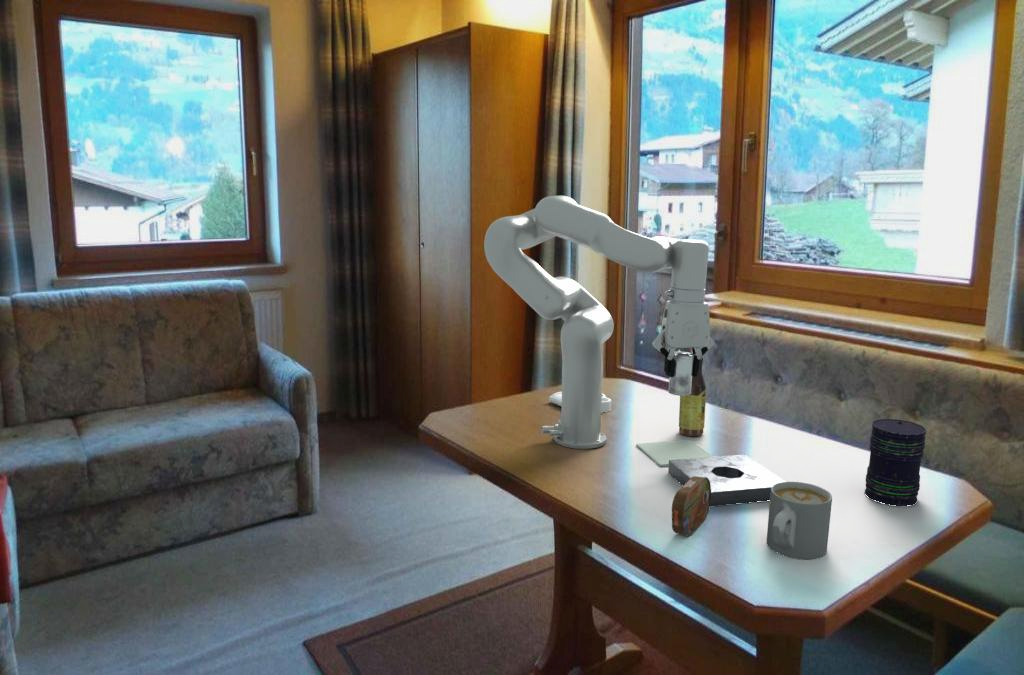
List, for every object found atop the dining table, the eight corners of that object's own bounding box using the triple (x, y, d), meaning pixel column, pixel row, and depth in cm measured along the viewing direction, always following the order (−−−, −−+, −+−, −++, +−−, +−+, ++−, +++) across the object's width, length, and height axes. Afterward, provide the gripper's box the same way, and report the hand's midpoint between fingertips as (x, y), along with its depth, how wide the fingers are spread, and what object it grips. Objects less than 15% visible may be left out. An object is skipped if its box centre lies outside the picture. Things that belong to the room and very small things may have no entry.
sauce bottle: (706, 437, 195) (711, 359, 191) (680, 437, 195) (685, 358, 191) (700, 429, 201) (705, 353, 197) (675, 428, 201) (680, 352, 197)
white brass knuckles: (542, 401, 225) (584, 395, 233) (579, 418, 210) (622, 410, 217) (542, 390, 224) (584, 384, 232) (579, 406, 209) (623, 399, 217)
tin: (684, 543, 139) (686, 498, 137) (666, 539, 140) (669, 494, 139) (711, 513, 151) (714, 472, 150) (695, 509, 153) (698, 468, 151)
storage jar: (916, 511, 154) (925, 437, 151) (861, 500, 158) (869, 429, 155) (918, 493, 162) (927, 423, 159) (866, 484, 167) (874, 416, 164)
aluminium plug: (673, 396, 177) (676, 356, 175) (664, 390, 181) (667, 350, 180) (694, 395, 178) (697, 355, 176) (685, 389, 183) (688, 350, 181)
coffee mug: (789, 528, 145) (794, 477, 143) (838, 550, 137) (844, 495, 135) (741, 547, 138) (745, 493, 136) (790, 570, 130) (795, 513, 128)
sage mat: (660, 466, 175) (660, 464, 175) (636, 445, 188) (636, 443, 188) (718, 462, 178) (718, 460, 178) (690, 441, 192) (690, 439, 191)
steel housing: (707, 507, 154) (708, 492, 153) (668, 473, 171) (668, 460, 171) (789, 499, 158) (790, 485, 158) (743, 467, 175) (744, 454, 175)
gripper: (657, 298, 170) (651, 381, 173) (730, 298, 173) (723, 378, 177) (644, 293, 177) (639, 372, 181) (715, 293, 180) (708, 370, 184)
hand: (681, 374), depth 179 cm, fingers closed on aluminium plug, 5 cm apart
